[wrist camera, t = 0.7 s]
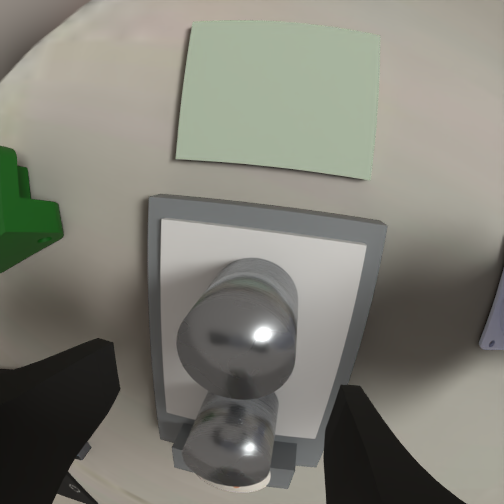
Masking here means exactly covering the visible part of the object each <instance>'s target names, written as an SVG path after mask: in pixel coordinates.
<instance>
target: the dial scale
mask: <svg viewBox="0 0 504 504" xmlns="http://www.w3.org/2000/svg"><path fill="white" fill-rule="evenodd" d="M386 232H387V225H386V224H384V223H383V222H382V221H379V220H373V219H367V218H360V217H354V216H347V215H340V214H334V213H327V212H319V211H312V210H305V209H297V208H290V207H282V206H274V205H265V204H257V203H248V202H239V201H230V200H221V199H211V198H201V197H190V196H179V195H168V194H158V195H154V196H150V197H149V210H148V304H149V327H150V344H151V358H152V371H153V382H154V392H155V401H156V410H157V418H158V426H159V433H160V439H162V440H165V441H169V442H172V443H174V444H173V446H172V452H173V460H174V467H175V468H179V469H182V470H186V471H190V472H193V471H192V470H191V469H190V468H189V467H188V466H187V465H186V464H185V462H184V460H183V457H182V450H183V447H184V445H185V443H186V440H187V438H188V436H189V433H190V431H191V429H192V427H193V424H194V422H195V420H196V417H197V415H198V413H199V410H200V408H201V406H202V403H203V401H204V399H205V396H206V394H207V392H208V390H206V389H205V388H203V387H202V386H200V385H199V384H198V383H197V382H195V381H194V380H193V379H192V378H191V377H190V375H189V374H188V373H187V372H186V370H185V369H184V367H183V365H182V363H181V361H180V359H179V356H178V352H177V345H176V341H177V334H178V330H179V327H180V325H181V323H182V321H183V320H184V318H185V317H186V316H187V314H188V313H189V312H190V310H191V309H192V308H193V306H194V305H195V304H196V302H197V301H198V300H199V298H200V297H201V296H202V294H203V293H204V292H205V290H206V289H207V288H208V286H209V285H210V284H211V282H212V281H213V280H214V279H215V277H216V276H217V275H218V273H219V272H220V271H221V270H222V269H223V268H224V267H225V266H227V265H228V264H230V263H231V262H234V261H236V260H239V259H243V258H261V259H265V260H268V261H271V262H273V263H275V264H277V265H278V266H280V267H281V268H283V269H284V270H285V271H286V272H287V273H288V274H289V276H290V277H291V278H292V280H293V282H294V284H295V286H296V289H297V293H298V321H297V341H296V358H295V365H294V368H293V371H292V373H291V375H290V377H289V378H288V380H287V381H286V382H285V383H284V384H283V386H281V387H280V388H279V389H278V390H276V391H275V394H276V396H277V398H278V401H279V408H278V416H277V423H276V430H275V437H274V444H273V451H272V458H271V465H270V471H269V474H268V476H267V477H266V478H265V479H264V480H263V481H261V482H259V483H257V484H254V485H250V486H244V487H232V486H225V485H220V484H216V483H213V482H211V481H208V480H206V479H204V478H202V477H200V476H198V475H197V474H196V475H197V476H198V477H199V478H200V479H202V480H203V481H204V482H206V483H207V484H209V485H211V486H213V487H216V488H218V489H222V490H225V491H230V492H239V493H245V492H253V491H257V490H260V489H262V488H264V487H265V486H268V487H276V488H285V489H288V488H289V485H290V483H291V480H292V477H293V475H294V472H295V466H306V467H317V465H318V462H319V460H320V457H321V455H322V453H323V450H324V439H325V429H326V426H327V423H328V420H329V418H330V415H331V412H332V409H333V406H334V403H335V400H336V397H337V394H338V391H339V388H340V385H348V382H349V379H350V376H351V373H352V370H353V367H354V364H355V360H356V357H357V354H358V350H359V347H360V344H361V340H362V337H363V333H364V329H365V326H366V322H367V318H368V314H369V310H370V306H371V302H372V298H373V294H374V290H375V286H376V281H377V277H378V272H379V268H380V263H381V258H382V253H383V248H384V243H385V238H386Z"/></svg>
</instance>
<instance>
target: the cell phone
mask: <svg viewBox="0 0 504 504" xmlns="http://www.w3.org/2000/svg"><path fill="white" fill-rule="evenodd" d="M57 494H60V495H63V496H65V497H68V498H71V499H74V500H77V501H80V502H83V503H86V504H98V503H97V502H96V501H95V500H94V499H93V498H92V497H91V496H90V495H89V494H88V493H87V492H86V491H85V489H84V488H83V487H82V486H81V485H80V484H79V483H78V482H77V481H76V480H75V479H74V478H73V477H72V476H71V474H70V473H69V472H67V473H66V475H65V477H64V479H63V481H62V483H61V485H60V487H59V489H58V492H57Z"/></svg>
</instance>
